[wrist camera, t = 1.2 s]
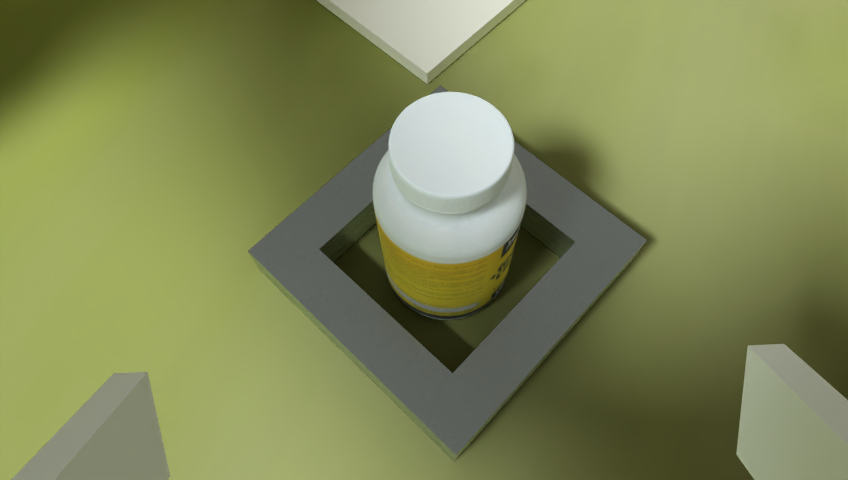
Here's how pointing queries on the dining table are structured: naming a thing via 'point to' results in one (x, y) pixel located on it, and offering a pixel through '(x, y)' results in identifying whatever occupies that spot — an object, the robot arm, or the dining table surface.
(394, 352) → the metal collar
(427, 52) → the cream tile
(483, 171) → the pill bottle
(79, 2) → the dining table surface
